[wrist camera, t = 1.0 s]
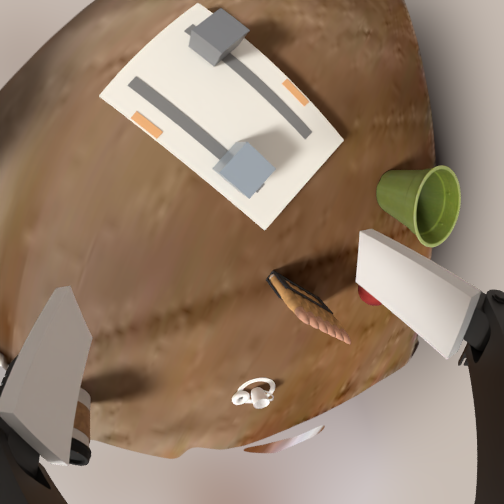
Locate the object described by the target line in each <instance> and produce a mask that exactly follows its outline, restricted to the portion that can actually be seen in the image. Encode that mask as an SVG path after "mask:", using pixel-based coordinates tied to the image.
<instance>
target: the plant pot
mask: <svg viewBox="0 0 504 504" xmlns="http://www.w3.org/2000/svg"><path fill="white" fill-rule="evenodd" d="M460 193H461V192H460V186H459V182H458V179H457V177H456V175H455V173H454V172H453V171H452V170H451V169H450V168H449V167H447V166H443V165H441V166H436V167H434V168H432V169H425V170H390V171H388V172H386V173H385V174H383V176H382V177H381V180H380V182H379V183H378V185H377V191H376V195H377V201H378V204H379V206H380V207H381V208H382V209H383V210H384V211H386V212H387V213H388V214H390V215H391V216H393V217H394V218H396V219H397V220H398V221H400V222H401V223H403V224H404V225H405V226H407V227H408V228H409V229H410V230H411V231H412V232H413V233H414V234H415V235H416V236H417V238H418V239H419V241H420V242H421V243H422V244H423V245H425V246H427V247H435V246H437V245H440V244H441V243H442V242H443V241H444V240H446V239H447V237H448V236H449V235H450V233H451V232H452V230H453V228H454V226H455V224H456V221H457V218H458V215H459V210H460V202H461V194H460Z"/></svg>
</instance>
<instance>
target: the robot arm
mask: <svg viewBox="0 0 504 504" xmlns="http://www.w3.org/2000/svg"><path fill="white" fill-rule="evenodd" d="M356 283H358V284H359V285H360V286H361V287H363V288H364V289H365V290H366V291H367V292H369V293H370V294H371V295H372V296H374V297H375V298H376V299H377V300H378V301H380V302H381V303H382V304H383V305H384V306H386V307H387V308H388V309H389V310H390V311H392V312H393V313H394V314H395V315H396V316H397V317H399V318H400V319H401V320H402V321H403V322H405V323H406V324H407V325H408V326H409V327H410V328H412V329H413V330H414V331H415V332H416V333H417V334H418V335H420V336H421V337H422V338H423V339H424V340H425V341H426V342H428V343H429V344H430V345H431V346H432V347H433V348H434V349H435V350H437V351H438V352H439V353H440V354H441V355H442V356H443V357H444V358H445V359H448V358H450V357H451V356H452V355H454V354H455V353H456V352H458V350H459V347H460V345H461V343H462V341H463V339H464V340H465V341H467V345H466V347H465V349H464V351H463V353H462V355H461V357H460V359H459V362H458V365H461V363H462V361H463V359H464V358H467V359H466V361H465V363H464V365H465V366H468V367H469V373H470V378H471V385H472V392H473V398H474V407H475V417H476V429H477V456H478V457H477V460H478V462H477V486H476V498H475V504H504V292H502V291H499V290H489V291H488V292H487V294H484V293H483V292H481V290H479V289H478V288H476V287H475V286H473V285H471V284H470V283H468V282H467V281H465V280H463V279H461V278H460V277H458V276H457V275H455V274H453V273H452V272H450V271H448V270H446V269H445V268H443V267H442V266H440V265H438V264H436V263H435V262H433V261H431V260H429V259H428V258H426V257H424V256H422V255H420V254H419V253H417V252H415V251H413V250H411V249H409V248H408V247H406V246H404V245H402V244H400V243H398V242H396V241H394V240H393V239H391V238H389V237H387V236H385V235H383V234H381V233H379V232H377V231H375V230H373V229H369V230H363V231H360V236H359V250H358V262H357V272H356ZM91 341H92V336H91V334H90V332H89V329H88V327H87V325H86V323H85V321H84V318H83V316H82V314H81V311H80V309H79V307H78V304H77V302H76V299H75V297H74V294H73V292H72V289H71V286H66V287H60V288H56V289H55V291H54V292H53V294H52V295H51V297H50V299H49V300H48V302H47V304H46V305H45V307H44V309H43V310H42V312H41V314H40V316H39V317H38V319H37V321H36V323H35V324H34V326H33V328H32V330H31V332H30V334H29V335H28V337H27V339H26V341H25V343H24V345H23V347H22V349H21V351H20V353H19V355H17V356H16V358H15V359H14V360H13V361H12V362H11V363H10V365H9V367H8V369H7V371H6V374H5V377H4V378H3V380H2V383H1V385H2V386H0V504H67V502H66V501H65V499H64V498H63V496H62V495H61V493H60V492H59V491H58V489H57V488H56V486H55V485H54V483H53V481H52V480H51V478H50V476H49V475H48V473H47V472H46V470H45V468H44V467H43V466H42V465H41V464H40V463H39V456H40V455H41V456H42V457H43V458H44V459H46V460H47V461H48V462H49V463H51V464H57V465H66V466H69V458H70V448H71V439H72V432H73V425H74V418H75V412H76V407H77V401H78V396H79V391H80V386H81V382H82V377H83V373H84V368H85V364H86V360H87V356H88V352H89V349H90V345H91Z"/></svg>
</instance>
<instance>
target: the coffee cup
mask: <svg viewBox="0 0 504 504" xmlns="http://www.w3.org/2000/svg"><path fill="white" fill-rule="evenodd" d="M90 402H91V398H90V395H89V394H88V392H86V391H85V390H84V389H82V388H81V387H80V391H79V396H78V401H77V407H76V412H75V418H74V425H73V432H72V439H71V448H70V458H69V464H73V465H80V466H82V465H87V464H88V463H89V459H90V457H91V450H90V448H89V443H90Z"/></svg>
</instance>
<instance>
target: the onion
mask: <svg viewBox="0 0 504 504" xmlns="http://www.w3.org/2000/svg"><path fill="white" fill-rule="evenodd" d="M358 292H359V296H360V298H361V299H362V300H363V301H364V302H365V303H367V304H369V305H375V306H378V305H381V304H382V303H381V302H380V301H378V300H377V299H376V298H375V297H374V296H372V295H371V294H370V293H369V292H367V291H366V290H365V289H364V288H363V287H361V286H360V285H358Z"/></svg>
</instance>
